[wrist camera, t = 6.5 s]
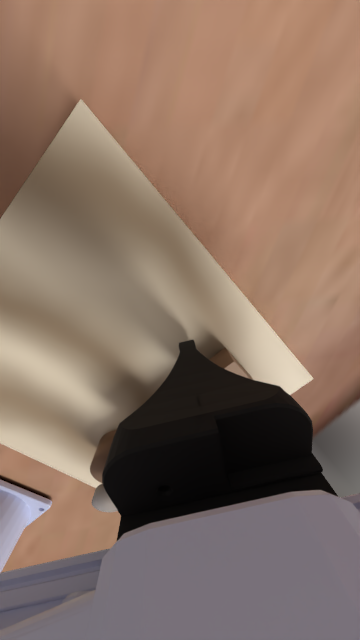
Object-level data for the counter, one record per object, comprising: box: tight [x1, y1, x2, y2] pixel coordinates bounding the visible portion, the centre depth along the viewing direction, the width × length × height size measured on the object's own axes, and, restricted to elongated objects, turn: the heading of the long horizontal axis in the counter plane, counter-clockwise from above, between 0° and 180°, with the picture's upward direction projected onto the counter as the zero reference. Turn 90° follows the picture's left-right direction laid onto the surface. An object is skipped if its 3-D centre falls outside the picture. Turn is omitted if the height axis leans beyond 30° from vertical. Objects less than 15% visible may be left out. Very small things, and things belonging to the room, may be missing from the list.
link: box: [90, 348, 253, 512], centre depth 11 cm, size 13×4×3 cm, turn 131°
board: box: [0, 99, 313, 488], centre depth 12 cm, size 20×20×1 cm
